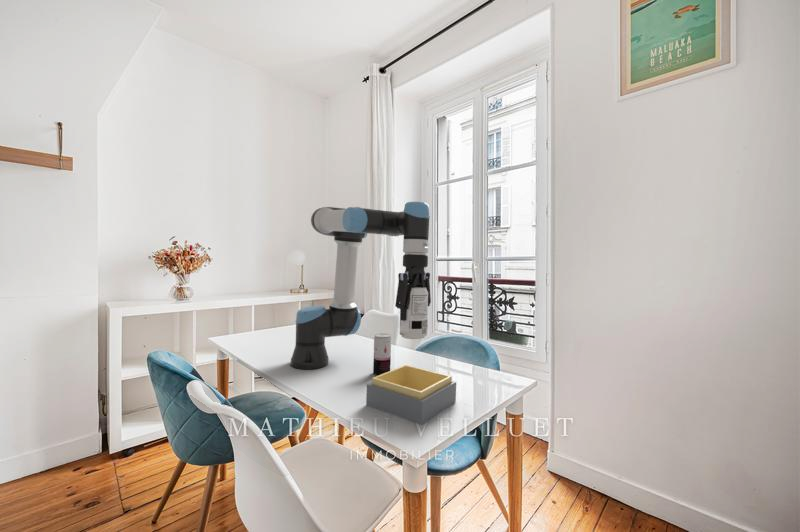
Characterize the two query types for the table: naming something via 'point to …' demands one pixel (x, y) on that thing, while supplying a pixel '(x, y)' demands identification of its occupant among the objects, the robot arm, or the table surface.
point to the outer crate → (411, 402)
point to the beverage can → (382, 353)
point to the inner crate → (412, 381)
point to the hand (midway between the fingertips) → (413, 329)
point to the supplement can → (417, 314)
